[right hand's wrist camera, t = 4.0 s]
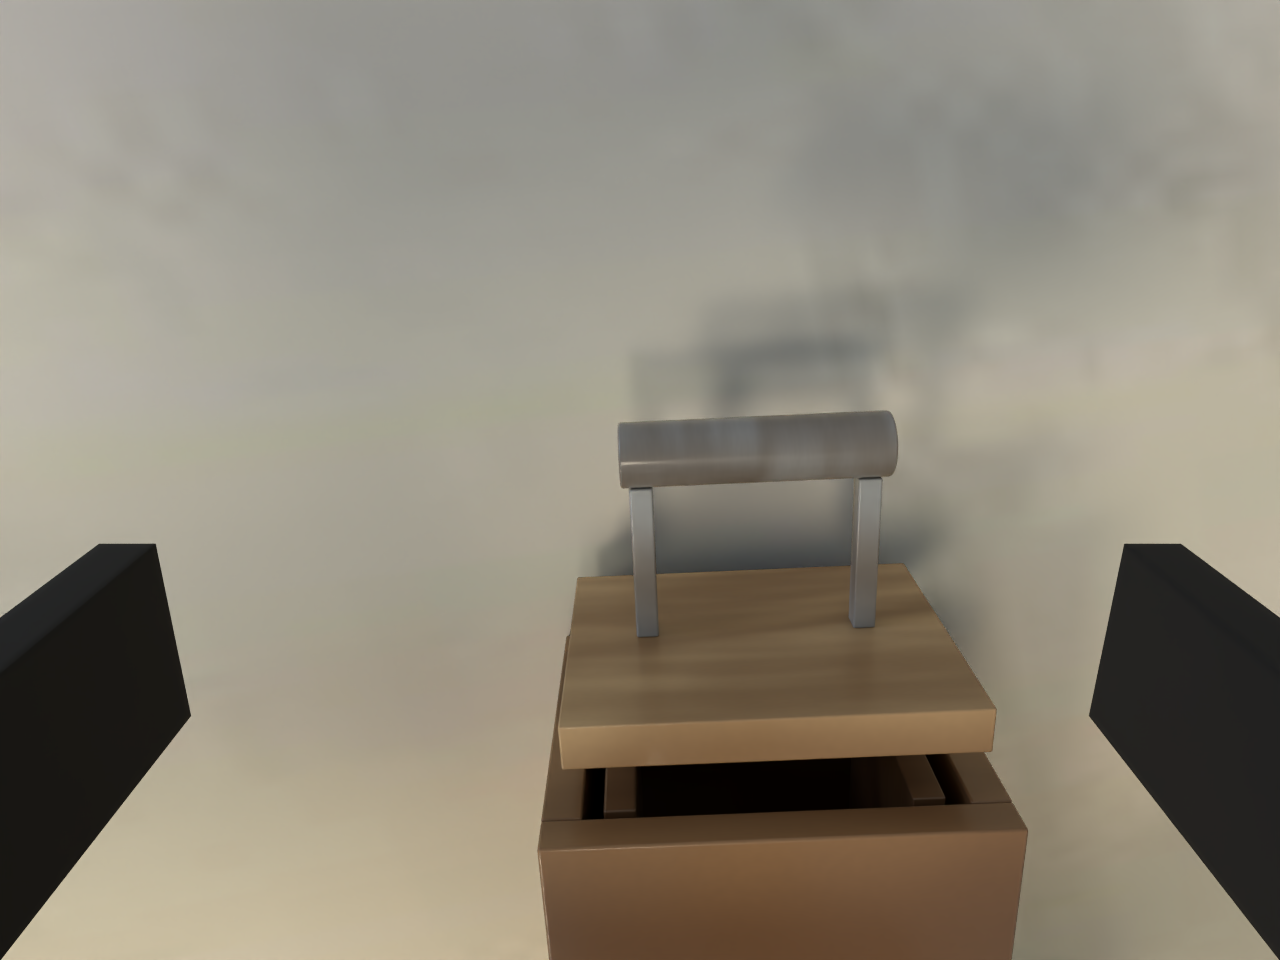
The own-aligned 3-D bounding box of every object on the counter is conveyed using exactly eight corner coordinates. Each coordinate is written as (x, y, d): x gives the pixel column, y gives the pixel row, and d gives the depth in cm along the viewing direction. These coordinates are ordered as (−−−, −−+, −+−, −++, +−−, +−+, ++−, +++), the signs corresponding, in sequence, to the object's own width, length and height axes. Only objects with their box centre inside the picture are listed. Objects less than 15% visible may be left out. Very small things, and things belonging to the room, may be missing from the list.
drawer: (563, 390, 26) (535, 485, 19) (915, 374, 26) (1024, 463, 19) (614, 1054, 35) (609, 1287, 28) (874, 1043, 35) (935, 1276, 28)
